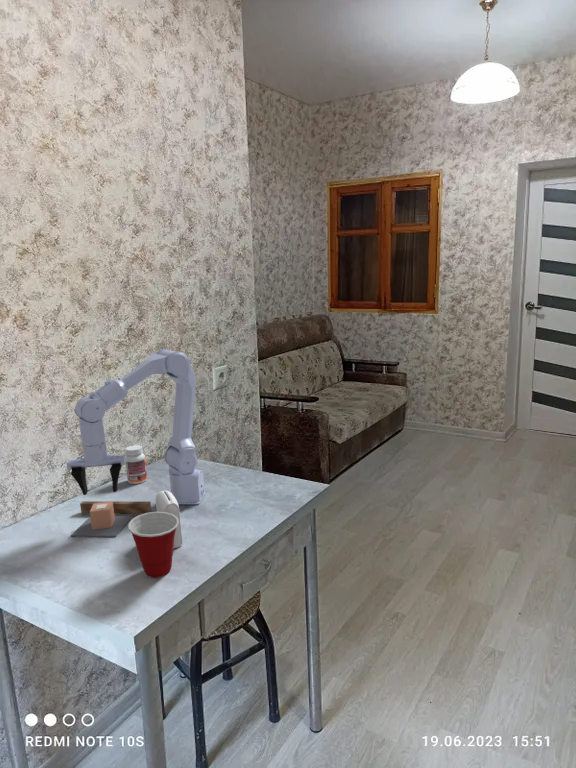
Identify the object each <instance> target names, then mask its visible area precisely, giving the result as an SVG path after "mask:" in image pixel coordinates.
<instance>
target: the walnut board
mask: <svg viewBox="0 0 576 768" xmlns="http://www.w3.org/2000/svg"><path fill="white" fill-rule="evenodd" d="M106 502H113V508H114V514H134V515H142V514H145V513H150V512H152V504H151V501H127V500H126V501H115V500H114V501H107V500H105V501H104V500H103V501H101V500H100V501H99V500H98V501H95V500H94V501H89V500H88V501H86V500H85V501H81V502H80V503H79V504H80V505H79V506H80V511H81V512H80V513H81V514H88V515H90V510H91V508H92V506H93V504H97V503H106Z"/></svg>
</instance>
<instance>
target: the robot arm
mask: <svg viewBox="0 0 576 768" xmlns="http://www.w3.org/2000/svg"><path fill="white" fill-rule="evenodd" d="M191 362H192V360H191V359H190V358H189V356H187V355H186V354H185V353H184V352H182V351H175V350H170V349H167V348H163V349H160V350H158V351H157V352H155V353H152V354H151V355H149V357H148V358H146V360H144V361H143V362H142V363H140V364H139V365H138V366H136V367H135V368H134V369H132V370H131V371H130V372H129V373H126V375H125V376H124V377H122V378H121V379H114V378H112V379H111V380H109V379H108V380H105V381H104V385H103V386H101V387H99V388H98V389H97V390H95V391H91V392H89V393H88V396H86V397H85V396H84V397H81V398H80V399H79V400H77V402H76V404H75V408H73V411H74V413H75V414H74V415H76V416H77V417H78V419H79V420H78V421H79V430H80V431H79V433H80V438H81V446H82V454H83V457H82V458H77V459H70V460H68V461H67V462H66V470H67V471H70V470H71V472H70V474H71V476H72V478H74V480H75V481H76V483H77V484H78V486H79V488H80V490H81V493H82V495H83V496H86V495H87V494H88V492H89V490H88V489H89V488H88V483H87V477H86V468H95V467H105V466H106V467H107V466H110V468H109V472H110V477H111V481H112V483H111V484H112V492H113V493H117V491H118V485H119V484H118V483H119V478H120V473H121V469H122V467H123V466H126V454H125V455H108V449H107V445H106V444H107V443H106V436H105V429H104V421H103V418H104V416H105V414H106V412H107V411H108V410H110V409H111V408H113V407H114V406H115V405H117V404H118V403H119V402H121V401H122V400H125V398H127V396H128V391H129V390H130V389H132V388H133V387H136V386H137V385H138V384H140V383H141V382H143V381H144V380H146V379H148V378H149V377H150V376H152V375H168V376H169V377H170V378H171V380H173V381H174V382H175V384H176V385H175V399H174V400H175V401H174V410H173V411H174V413H173V422H172V423H173V424H172V435H171V438H170V439H169V440H168V442H167V448H166V450H165V451H164V455H163V458H164V460H163V461H164V463H166V464H167V465H168V468H169V469H168V473H169V474H168V475H169V484H170V493H172V494H173V496H174V497H175V499H176V500H177V502H178V505H199V504H200V503H201V502H202V500H203V499H204V497H205V496H206V494H207V492H206V488H205V475H204V472H203V470H200V469H196V468H197V465H198V457H197V455H196V446H195V444H194V442H193V440H192V439H193V438H192V434H193V422H194V410H195V409H194V408H195V398H196V397H195V396H196V385H197V384H196V383H197V377H196V374H195V372H194V370H193V369H194V368H193V367H192V364H191Z"/></svg>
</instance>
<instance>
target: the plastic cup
mask: <svg viewBox="0 0 576 768" xmlns="http://www.w3.org/2000/svg"><path fill="white" fill-rule="evenodd" d="M178 524H179V520H178V518H177V517H176V516H175V515H173V514H170V513H167V512H157V511H151V512H150V513H145V514H137V516H135V517H133V518H132V519H131V520H130V521H129V522H128V523H127V526H128V530H129V531H130V533H131V536H132V538H133V542H134V543H135V547H136V549H137V554H138V557H139V561H140V563H141V565H142V568H143V573H145V575H146V576H147V577H149V578H160V577H164V576H166V575H168V573H170V572H171V571H172V566H173V556H174V555H173V554H174V548H173V547H174V536H175V531H176V527H177V526H178Z"/></svg>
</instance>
